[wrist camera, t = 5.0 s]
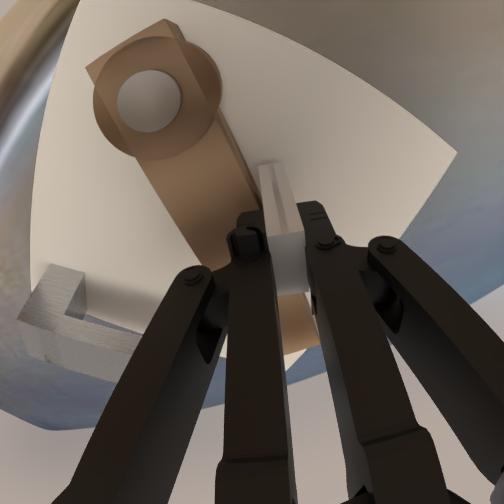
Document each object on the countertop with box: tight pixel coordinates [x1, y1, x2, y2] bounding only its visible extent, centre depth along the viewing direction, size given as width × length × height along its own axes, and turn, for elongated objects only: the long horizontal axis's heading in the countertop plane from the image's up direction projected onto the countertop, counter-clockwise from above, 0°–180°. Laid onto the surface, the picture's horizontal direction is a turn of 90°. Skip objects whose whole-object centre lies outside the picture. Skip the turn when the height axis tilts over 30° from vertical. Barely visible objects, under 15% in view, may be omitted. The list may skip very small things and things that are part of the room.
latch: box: [85, 18, 321, 355], centre depth 17 cm, size 21×6×4 cm, turn 23°
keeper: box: [16, 263, 142, 383], centre depth 21 cm, size 4×10×7 cm, turn 73°
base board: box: [30, 0, 457, 371], centre depth 20 cm, size 24×24×2 cm
